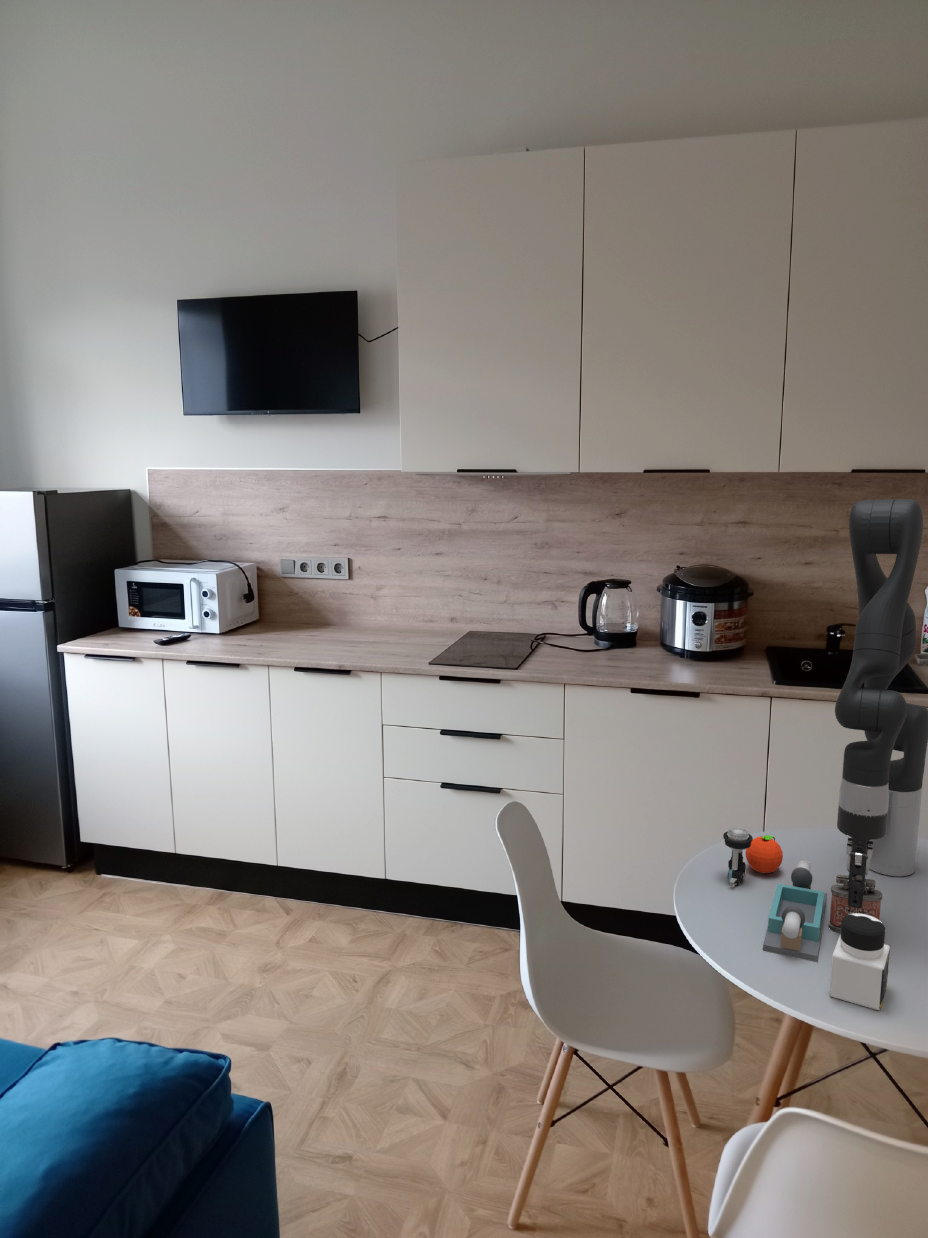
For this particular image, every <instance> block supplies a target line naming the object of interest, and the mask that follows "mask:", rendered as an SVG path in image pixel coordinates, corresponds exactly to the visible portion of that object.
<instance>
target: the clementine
mask: <svg viewBox="0 0 928 1238" xmlns="http://www.w3.org/2000/svg"><path fill="white" fill-rule="evenodd" d="M783 858H784V853H783V849H782V847H781V845H780V844H779V843H778V842H777V841H776V837H775V836H772V835H768V834H767V835H763V836H757V837H755V838H753V840H752V842H751V846H750V847H749V848H747V849H745V859H746V861H747V863H748V865H749V866H750V867H751V868H752V869H753V870H755V871H756V872H758V873H760V874H761V873H762V874H771V873H772V872H775V871H776V870H778V869H779V868H780V867H781V864H782V862H783Z"/></svg>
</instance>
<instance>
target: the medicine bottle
mask: <svg viewBox="0 0 928 1238" xmlns="http://www.w3.org/2000/svg"><path fill="white" fill-rule="evenodd" d="M885 936H886V926H885V925H884V924H883V922H882V921H881V920H880V919H879V920H878V919H876V918H874V917H872V916H869V915H866V914H859V913H854V914H848V915H846V916H845V917H843V919H842V922H841V933H839V936H838V939H837V942H836V944H835V947H834V949H833V953H832V956H831V970H830V980H829V981H830V982H829V996H830V997H832V998H834V999H838V1000H842V1001H845V1002H848V1003H852V1004H856V1005H858V1006H862V1007H865V1008H869V1009H872V1010H876V1011H880V1010H881V1008H882V1005H883V1002H884V998H885V995H886V991H887V990H886V989H887V987H888V975H889V965H890V964H889V963H890V952H891V951H890V950H891V948H890V945H888V944H885V938H886V937H885Z"/></svg>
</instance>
